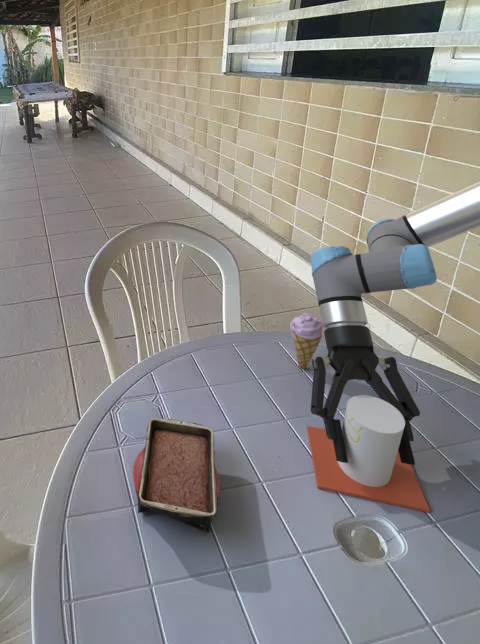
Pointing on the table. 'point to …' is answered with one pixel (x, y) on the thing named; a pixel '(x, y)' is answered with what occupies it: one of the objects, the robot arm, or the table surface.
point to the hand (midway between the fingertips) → (375, 462)
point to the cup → (371, 439)
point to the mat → (333, 478)
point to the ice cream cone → (306, 337)
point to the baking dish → (178, 472)
